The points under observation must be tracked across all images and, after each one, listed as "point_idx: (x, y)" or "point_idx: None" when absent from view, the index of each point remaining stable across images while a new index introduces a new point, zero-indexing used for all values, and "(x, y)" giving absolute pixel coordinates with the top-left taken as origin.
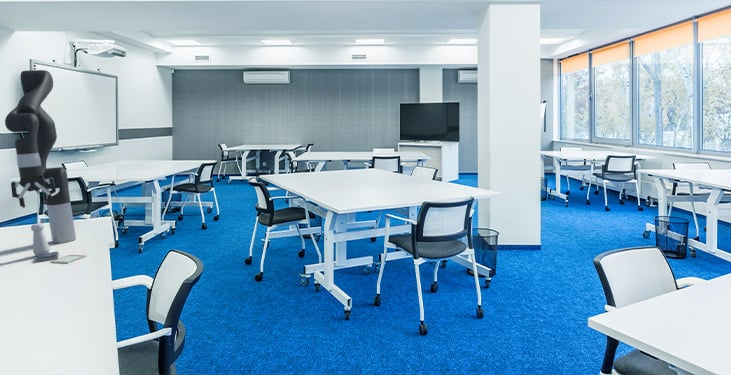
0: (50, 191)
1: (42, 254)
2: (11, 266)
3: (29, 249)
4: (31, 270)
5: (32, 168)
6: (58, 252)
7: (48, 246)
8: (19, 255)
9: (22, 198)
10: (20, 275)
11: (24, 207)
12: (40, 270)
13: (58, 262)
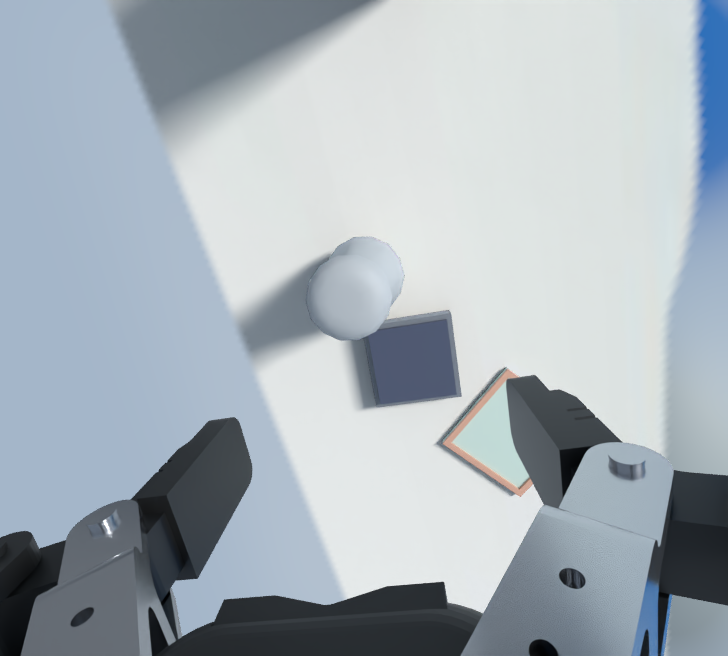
0: (697, 592)
1: (387, 347)
2: (287, 409)
3: (245, 64)
4: (392, 515)
5: None
6: (451, 318)
7: (401, 282)
8: (243, 202)
9: (189, 578)
10: (371, 558)
11: (249, 468)
12: (428, 533)
13: (477, 466)
